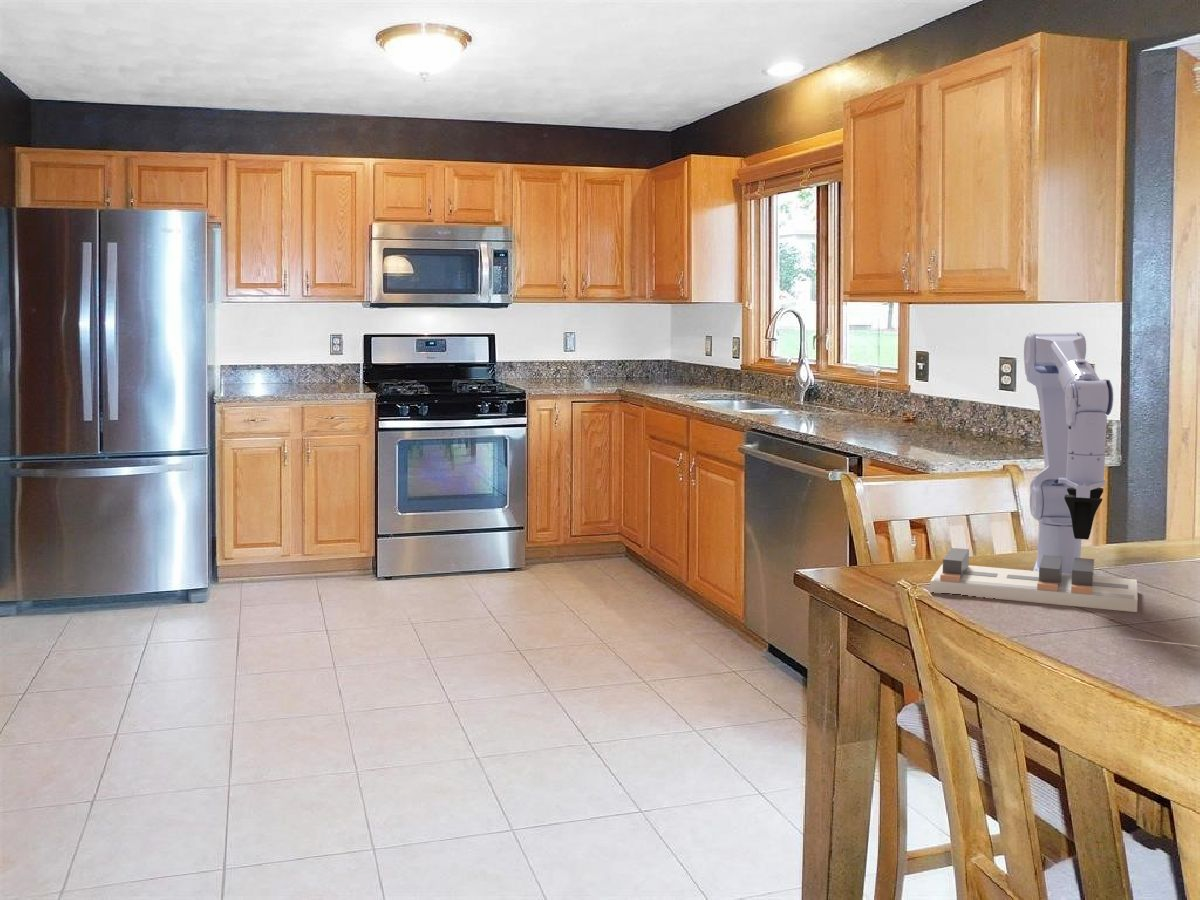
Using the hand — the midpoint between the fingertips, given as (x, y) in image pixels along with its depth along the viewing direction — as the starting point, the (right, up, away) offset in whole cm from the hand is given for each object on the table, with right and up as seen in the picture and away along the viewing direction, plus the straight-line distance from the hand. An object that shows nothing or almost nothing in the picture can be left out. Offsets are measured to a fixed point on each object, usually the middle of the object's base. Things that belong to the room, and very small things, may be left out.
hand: (1082, 534), depth 184 cm
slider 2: (-1, -8, -2) cm, 8 cm away
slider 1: (-19, -7, +6) cm, 21 cm away
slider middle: (-5, -7, 0) cm, 9 cm away
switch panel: (-8, -10, 0) cm, 13 cm away
